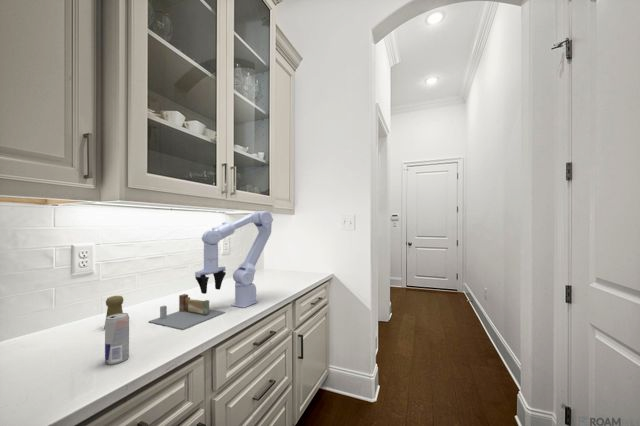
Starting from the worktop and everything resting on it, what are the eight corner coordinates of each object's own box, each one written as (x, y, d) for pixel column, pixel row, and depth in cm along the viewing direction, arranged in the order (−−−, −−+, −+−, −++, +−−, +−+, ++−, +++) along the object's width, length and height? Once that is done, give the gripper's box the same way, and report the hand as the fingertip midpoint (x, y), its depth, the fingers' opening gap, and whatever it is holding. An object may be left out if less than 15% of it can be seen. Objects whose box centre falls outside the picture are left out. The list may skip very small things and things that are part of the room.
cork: (113, 330, 98) (114, 299, 98) (99, 329, 99) (99, 298, 99) (128, 324, 104) (129, 294, 104) (115, 323, 105) (115, 293, 105)
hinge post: (184, 310, 119) (184, 294, 119) (188, 311, 118) (188, 294, 118) (179, 312, 117) (179, 295, 117) (183, 313, 116) (183, 296, 116)
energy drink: (113, 355, 79) (113, 313, 79) (133, 354, 79) (133, 312, 80) (99, 365, 73) (100, 319, 74) (121, 364, 74) (121, 318, 74)
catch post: (163, 318, 110) (163, 305, 110) (166, 318, 109) (166, 305, 109) (160, 319, 108) (160, 306, 108) (162, 320, 107) (162, 307, 108)
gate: (188, 309, 117) (188, 297, 118) (209, 313, 112) (209, 300, 112) (184, 310, 116) (184, 298, 116) (205, 314, 110) (205, 301, 111)
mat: (193, 307, 123) (193, 306, 123) (225, 312, 115) (225, 311, 115) (148, 322, 105) (148, 321, 105) (182, 330, 97) (182, 329, 97)
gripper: (217, 256, 126) (217, 286, 126) (189, 260, 113) (189, 294, 113) (229, 257, 123) (229, 288, 123) (202, 261, 110) (202, 296, 110)
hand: (211, 291), depth 117 cm, fingers open, 7 cm apart
